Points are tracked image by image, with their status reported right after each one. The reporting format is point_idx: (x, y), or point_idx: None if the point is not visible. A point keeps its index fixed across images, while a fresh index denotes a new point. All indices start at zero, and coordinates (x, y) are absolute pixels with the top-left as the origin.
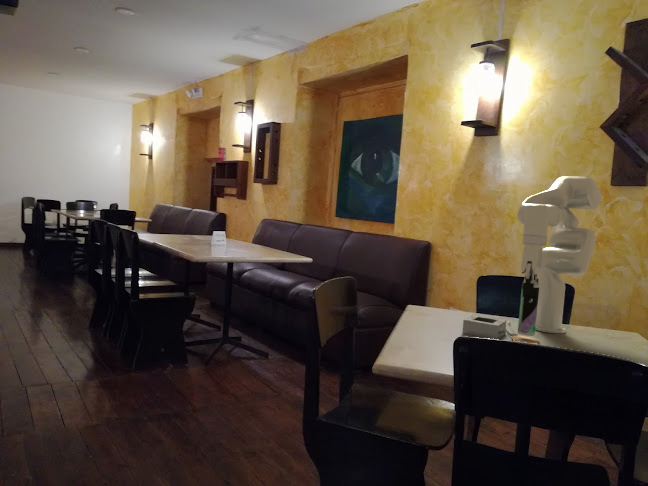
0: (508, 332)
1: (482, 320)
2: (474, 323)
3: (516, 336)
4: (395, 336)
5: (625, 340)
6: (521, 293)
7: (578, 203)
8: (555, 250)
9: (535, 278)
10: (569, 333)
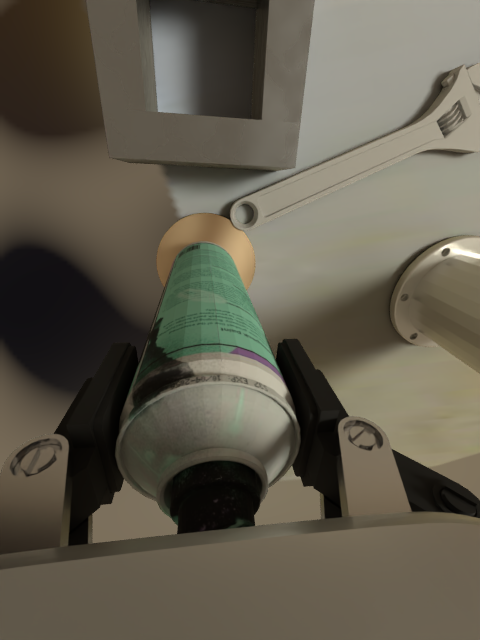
0: (271, 185)
1: (265, 9)
2: None
3: (221, 229)
4: None
5: (407, 448)
6: (179, 317)
7: None
8: None
9: (322, 512)
10: (420, 351)
